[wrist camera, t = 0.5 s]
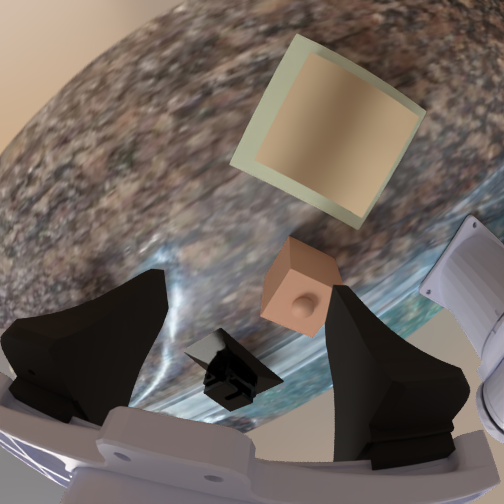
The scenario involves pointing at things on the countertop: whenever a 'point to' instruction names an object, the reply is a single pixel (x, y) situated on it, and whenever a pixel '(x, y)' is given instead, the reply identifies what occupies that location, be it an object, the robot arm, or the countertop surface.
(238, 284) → the countertop surface
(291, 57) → the plate
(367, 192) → the maple block
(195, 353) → the black angular piece
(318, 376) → the countertop surface
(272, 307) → the top brick
